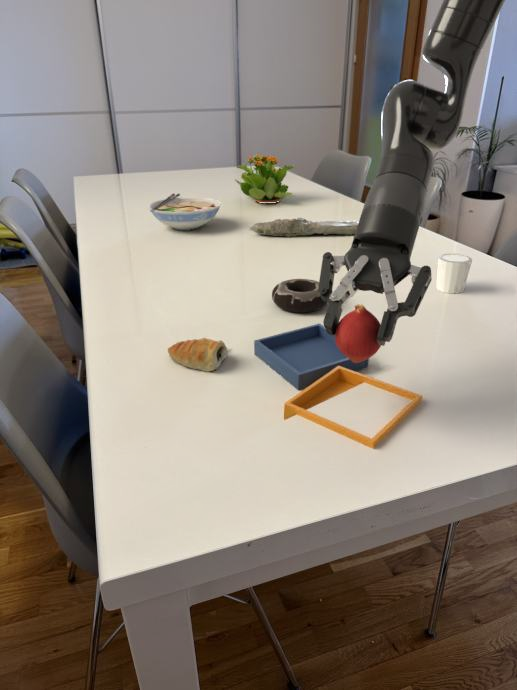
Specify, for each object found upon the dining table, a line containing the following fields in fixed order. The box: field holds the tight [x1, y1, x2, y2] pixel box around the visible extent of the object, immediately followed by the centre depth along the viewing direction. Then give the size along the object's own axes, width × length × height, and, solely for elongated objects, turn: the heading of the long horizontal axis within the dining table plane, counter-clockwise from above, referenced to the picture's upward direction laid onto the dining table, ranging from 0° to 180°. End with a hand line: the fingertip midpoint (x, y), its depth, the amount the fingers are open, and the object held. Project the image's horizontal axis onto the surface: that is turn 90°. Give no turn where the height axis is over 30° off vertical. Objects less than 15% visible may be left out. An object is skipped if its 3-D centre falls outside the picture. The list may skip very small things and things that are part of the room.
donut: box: [271, 278, 329, 314], centre depth 104 cm, size 12×12×4 cm
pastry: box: [167, 337, 228, 372], centre depth 83 cm, size 9×7×4 cm
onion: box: [335, 303, 382, 363], centre depth 64 cm, size 6×6×8 cm
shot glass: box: [436, 252, 473, 294], centre depth 110 cm, size 7×7×7 cm
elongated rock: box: [252, 217, 359, 238], centre depth 154 cm, size 35×5×10 cm
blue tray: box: [253, 323, 370, 391], centre depth 82 cm, size 13×13×3 cm
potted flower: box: [234, 153, 296, 202], centre depth 193 cm, size 25×24×18 cm
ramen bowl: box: [147, 193, 222, 231], centre depth 161 cm, size 25×23×8 cm
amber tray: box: [283, 366, 423, 449], centre depth 69 cm, size 13×13×3 cm
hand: (354, 337), depth 62 cm, fingers closed on onion, 5 cm apart
